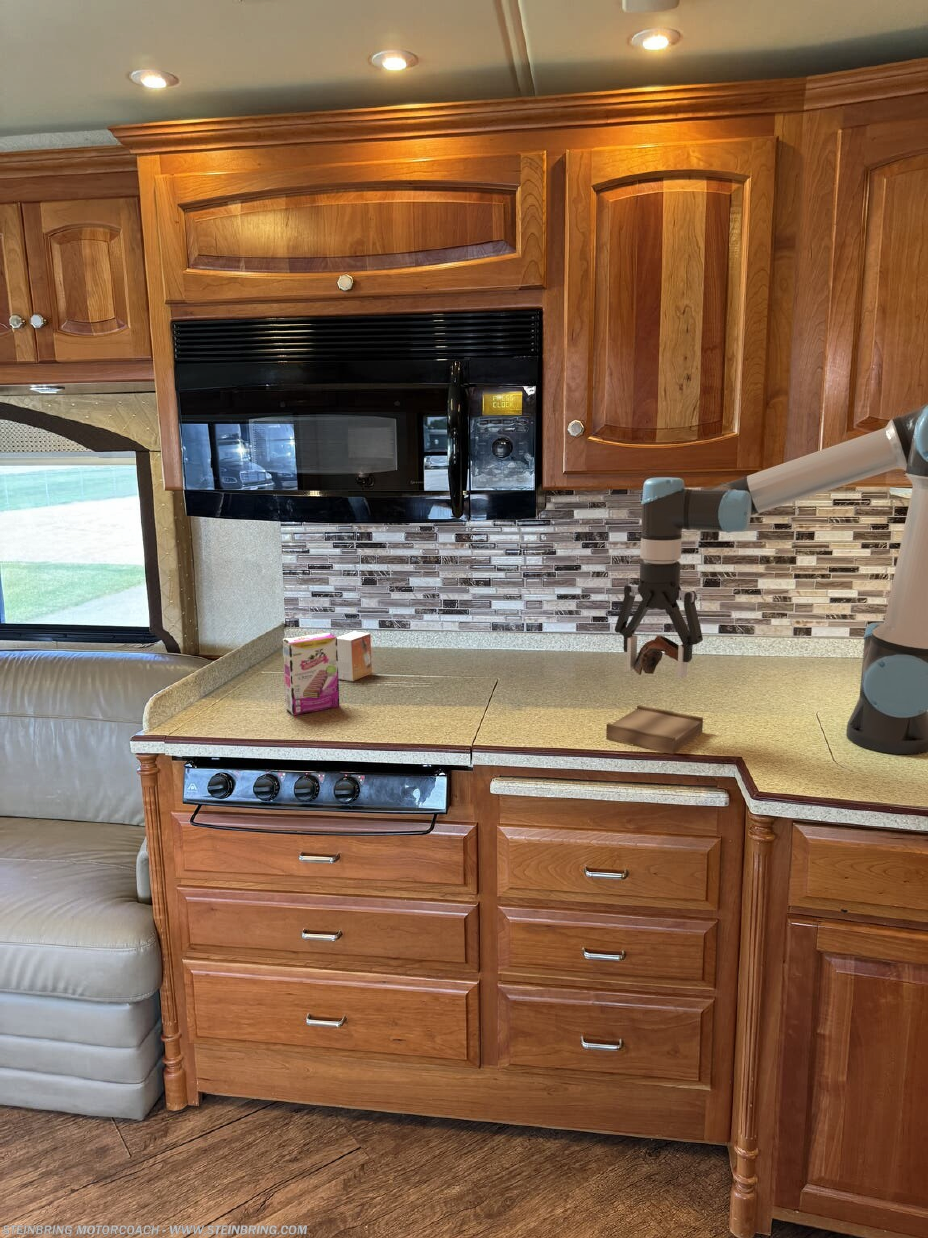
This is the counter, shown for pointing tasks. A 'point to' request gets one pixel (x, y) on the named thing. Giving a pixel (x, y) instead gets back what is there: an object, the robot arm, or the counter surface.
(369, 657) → the small box
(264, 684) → the counter surface
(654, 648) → the brown hollow arched piece
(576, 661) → the counter surface
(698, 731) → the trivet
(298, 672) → the candy bar box
